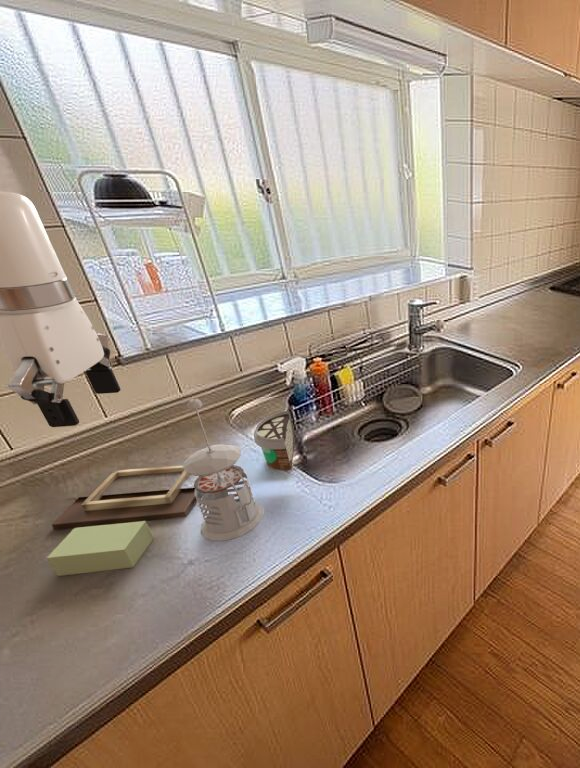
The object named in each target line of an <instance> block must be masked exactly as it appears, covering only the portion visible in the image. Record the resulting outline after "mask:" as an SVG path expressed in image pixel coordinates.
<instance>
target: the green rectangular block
mask: <svg viewBox="0 0 580 768" xmlns="http://www.w3.org/2000/svg"><path fill="white" fill-rule="evenodd" d="M153 540H154V535H153V533H152V531H151V528H150V527H149V524H148V523H147V521H137V522H127V523H117V524H107V525H96V526H86V527H76V528H72V529H71V531H70V532H69V533H68V534H67V535H66V536H65V537H64V538H63V540H61V542H60V543H59V544H58V545H56V547H55V548H54V549H53V550H52V551H51V552H50V554H49V555H48V556H46V560H47V561H48V563H49V565H50V567H51V568H52V569H53V570H54V572H55V573H56V576H58V577H61V576H71V575H78V574H88V573H97V572H106V571H113V570H122V569H131V568H135V566H136V565H137V563H138V562H139V560H140V559H141V557H142V556H143V554H144V553H145V551H146V550H147V548H148V547H149V546H150V544H151V543H152V541H153Z"/></svg>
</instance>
